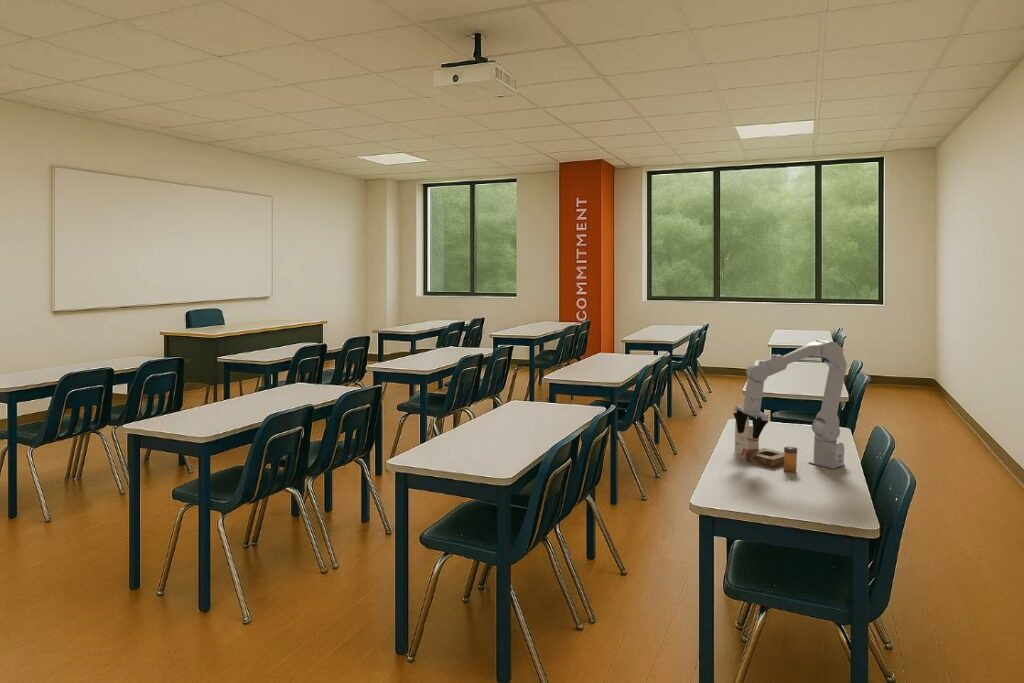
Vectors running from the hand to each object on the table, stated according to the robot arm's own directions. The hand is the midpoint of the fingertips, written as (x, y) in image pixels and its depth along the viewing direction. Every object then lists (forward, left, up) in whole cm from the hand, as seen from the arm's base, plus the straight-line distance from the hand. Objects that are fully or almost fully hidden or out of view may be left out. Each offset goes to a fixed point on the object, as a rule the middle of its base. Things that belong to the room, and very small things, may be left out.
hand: (747, 435), depth 252 cm
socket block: (-3, -8, -10) cm, 14 cm away
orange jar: (-14, -4, -11) cm, 18 cm away
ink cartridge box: (+8, -11, -11) cm, 18 cm away
